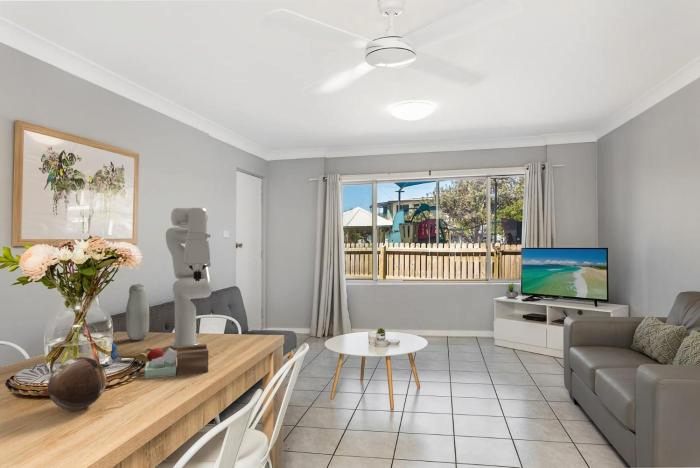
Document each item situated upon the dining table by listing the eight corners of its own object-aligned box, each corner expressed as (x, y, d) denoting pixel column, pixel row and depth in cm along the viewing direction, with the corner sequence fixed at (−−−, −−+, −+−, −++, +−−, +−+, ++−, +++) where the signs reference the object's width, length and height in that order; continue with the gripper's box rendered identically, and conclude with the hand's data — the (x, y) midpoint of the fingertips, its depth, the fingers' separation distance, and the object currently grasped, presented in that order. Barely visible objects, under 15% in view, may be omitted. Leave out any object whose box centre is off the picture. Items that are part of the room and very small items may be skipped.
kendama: (116, 368, 179) (157, 363, 177) (116, 351, 181) (156, 347, 178) (128, 366, 187) (168, 361, 184) (128, 350, 188) (167, 346, 186)
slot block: (177, 366, 176) (177, 346, 176) (206, 363, 180) (206, 343, 180) (177, 375, 165) (177, 353, 165) (208, 371, 169) (208, 350, 169)
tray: (146, 369, 172) (146, 361, 172) (175, 366, 176) (175, 359, 176) (144, 378, 161) (144, 370, 161) (176, 375, 165) (176, 367, 165)
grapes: (82, 367, 175) (82, 337, 175) (93, 362, 182) (93, 333, 182) (110, 368, 174) (110, 337, 174) (120, 363, 181) (120, 333, 181)
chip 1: (165, 366, 171) (154, 369, 169) (163, 356, 171) (151, 359, 169) (165, 369, 167) (153, 372, 166) (162, 359, 167) (151, 362, 165)
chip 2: (171, 361, 171) (162, 356, 170) (177, 353, 172) (169, 347, 171) (171, 364, 167) (162, 358, 166) (178, 355, 168) (169, 349, 167)
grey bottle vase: (137, 337, 229) (137, 282, 229) (153, 338, 225) (153, 283, 226) (121, 341, 219) (121, 284, 220) (137, 342, 216) (137, 285, 216)
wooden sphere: (34, 415, 128) (35, 363, 128) (79, 397, 142) (79, 350, 143) (76, 420, 124) (76, 366, 124) (117, 401, 138) (117, 353, 139)
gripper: (215, 237, 192) (215, 279, 192) (178, 237, 187) (178, 280, 187) (216, 237, 185) (216, 281, 185) (178, 237, 180) (178, 282, 180)
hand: (197, 280), depth 186 cm, fingers closed
